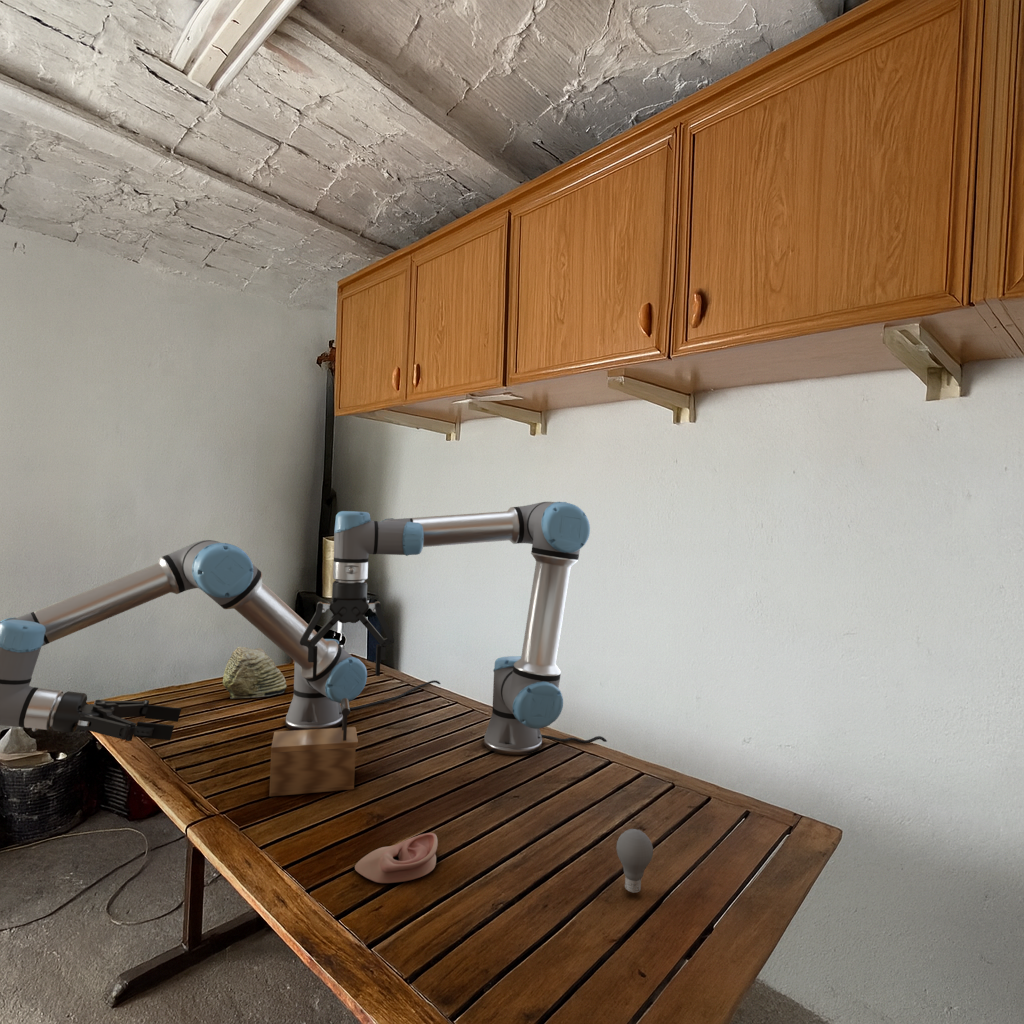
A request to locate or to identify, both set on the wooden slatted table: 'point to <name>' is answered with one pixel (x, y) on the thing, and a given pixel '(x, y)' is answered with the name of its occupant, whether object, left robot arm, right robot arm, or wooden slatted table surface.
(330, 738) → the lid
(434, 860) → the anatomical model
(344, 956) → the wooden slatted table surface
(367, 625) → the right robot arm
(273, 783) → the chest
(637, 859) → the light bulb
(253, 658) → the fossil
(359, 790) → the wooden slatted table surface
